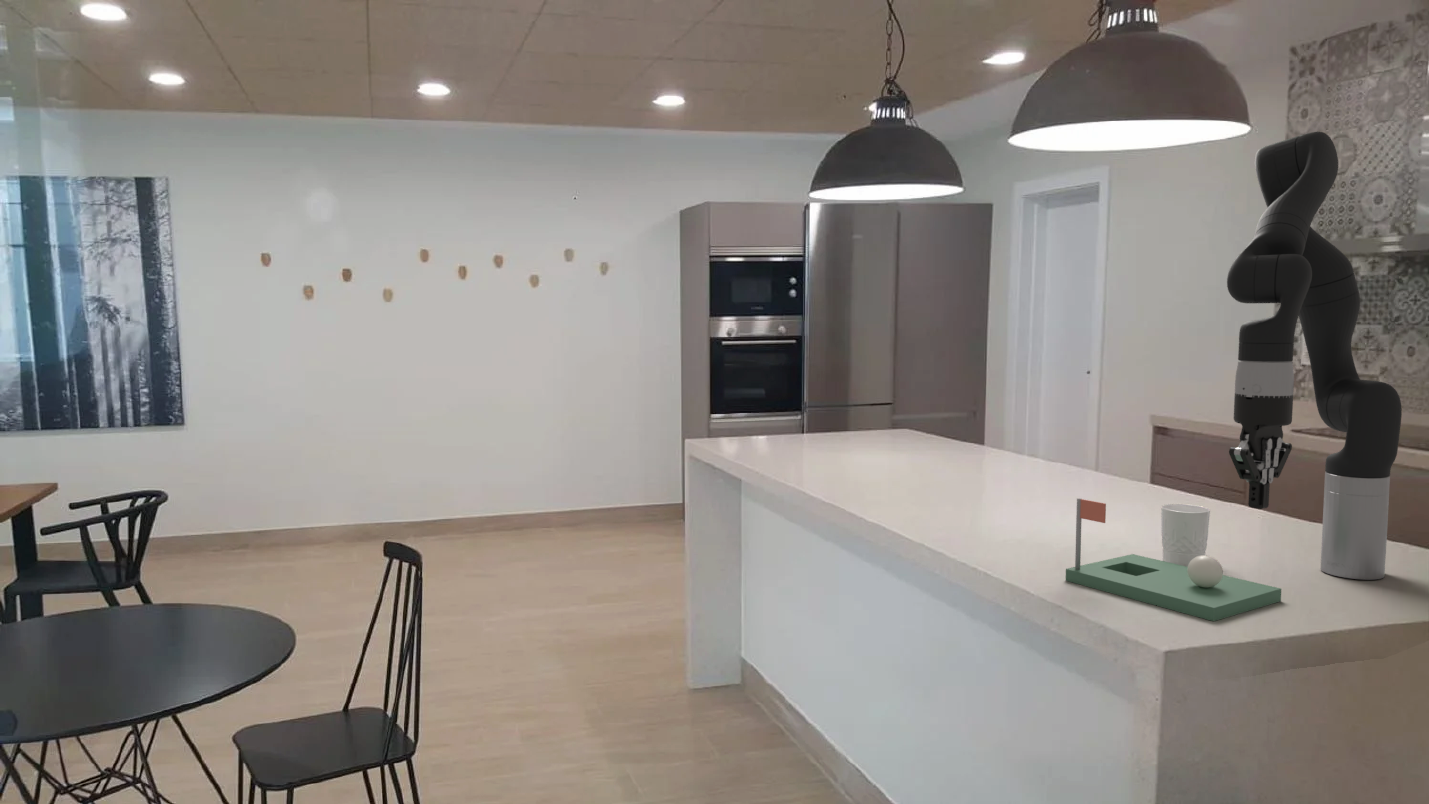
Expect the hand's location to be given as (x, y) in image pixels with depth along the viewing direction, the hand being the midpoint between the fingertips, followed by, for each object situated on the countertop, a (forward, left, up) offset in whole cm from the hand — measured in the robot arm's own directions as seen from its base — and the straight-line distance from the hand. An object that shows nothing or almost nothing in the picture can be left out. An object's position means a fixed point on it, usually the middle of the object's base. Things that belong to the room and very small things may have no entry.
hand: (1258, 507), depth 144 cm
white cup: (-18, -23, -16) cm, 33 cm away
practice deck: (0, -14, -16) cm, 21 cm away
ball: (0, -8, -11) cm, 14 cm away
